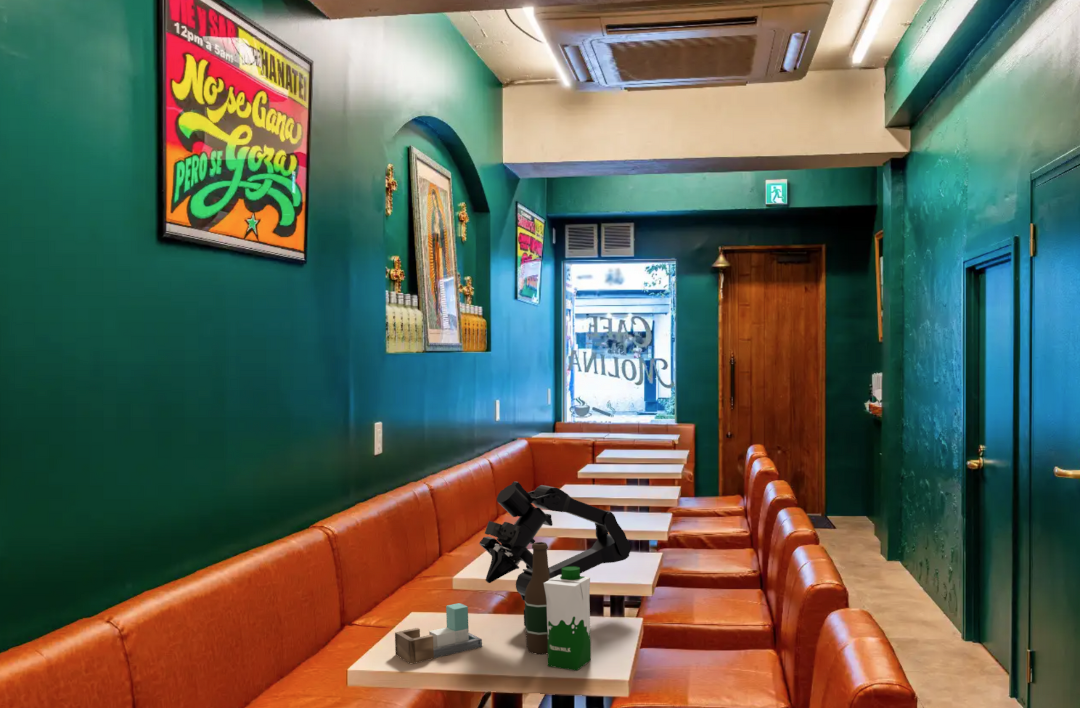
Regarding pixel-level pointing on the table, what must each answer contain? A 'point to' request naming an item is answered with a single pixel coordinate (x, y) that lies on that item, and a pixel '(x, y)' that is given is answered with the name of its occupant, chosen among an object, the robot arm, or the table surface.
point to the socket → (413, 646)
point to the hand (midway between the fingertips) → (487, 581)
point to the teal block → (452, 627)
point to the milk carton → (568, 619)
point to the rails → (458, 646)
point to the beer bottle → (537, 602)
